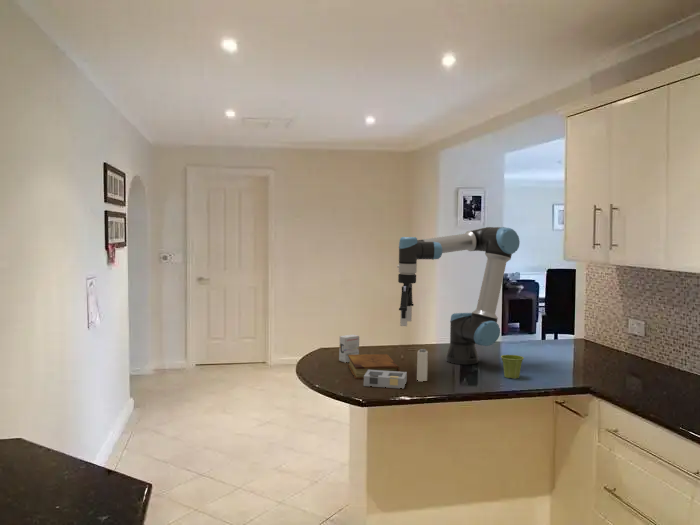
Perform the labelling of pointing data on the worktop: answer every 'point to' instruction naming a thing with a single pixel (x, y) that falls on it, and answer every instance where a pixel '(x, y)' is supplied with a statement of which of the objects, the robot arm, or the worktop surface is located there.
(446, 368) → the worktop surface
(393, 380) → the socket block
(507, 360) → the plant pot
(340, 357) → the ink box
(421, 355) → the plug
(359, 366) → the diary
